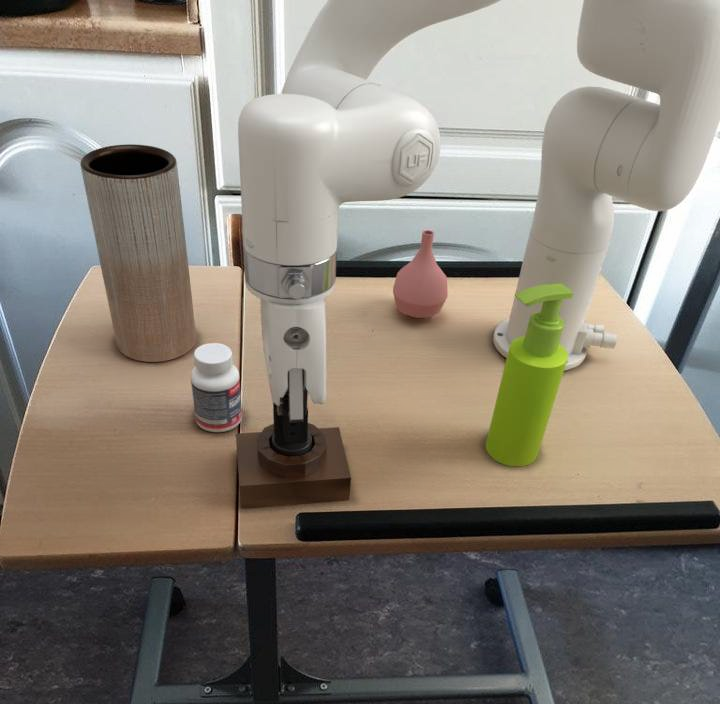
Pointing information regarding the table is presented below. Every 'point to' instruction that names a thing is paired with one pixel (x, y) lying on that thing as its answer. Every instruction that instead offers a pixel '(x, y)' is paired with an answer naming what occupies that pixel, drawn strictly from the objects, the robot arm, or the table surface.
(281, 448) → the dark grey push button
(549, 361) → the soap dispenser
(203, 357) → the pill bottle
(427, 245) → the pink vase
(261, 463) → the brown button base
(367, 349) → the table surface
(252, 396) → the table surface
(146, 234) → the planter
